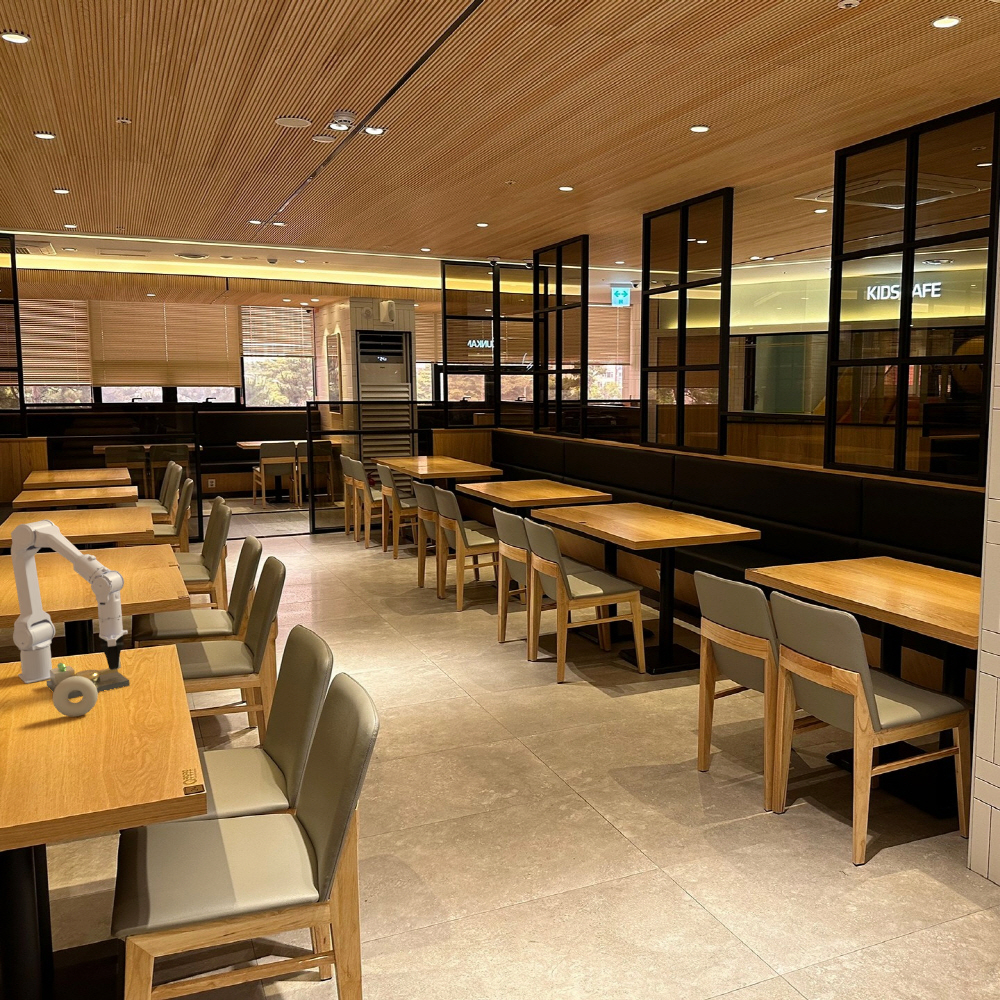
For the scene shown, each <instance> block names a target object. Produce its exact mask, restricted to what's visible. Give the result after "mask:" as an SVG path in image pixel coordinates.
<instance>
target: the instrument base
mask: <svg viewBox="0 0 1000 1000" xmlns="http://www.w3.org/2000/svg"><path fill="white" fill-rule="evenodd" d="M75 671H76V670H75V669H74V668H73V667H72V666H71V665H66V664H65V663H63V662H59V663H58V664H57V667H55V668H52V669H50V679H48V680H46V687H47V686H48V687H47V688H48V689H49V688H50V689H51V690H52V691H53V692H54V690H55V688H56V687H57V685H58V684H59V683H60V682H61V681H63V680H65V679H66V678H69V677H73V676H75V674H76V672H75ZM93 683H94V685H95V686H96V688H97V692H98V693H100V692H99V691H103V692H105V691H104V690H107V691H111V690H110V689H112V690H115V689H114V688H116V689H119V688H118V687H121V688H125V686H126V687H130V679H129V678H127V677H126V676H124V675H123V674H121V672H119V671H118V672H115V673H109V674H104V675H100V680H98V681H96V682H93ZM123 686H124V687H123ZM50 689H49V690H50ZM51 690H50V691H51ZM52 691H51V692H52ZM53 692H52V693H53ZM79 696H80V697H83V694H82V692H81V691H79V690H73V691H71V692H70V693H69V694H68V699H74V698H78V697H79Z"/></svg>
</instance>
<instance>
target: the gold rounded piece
mask: <svg viewBox="0 0 1000 1000" xmlns="http://www.w3.org/2000/svg"><path fill="white" fill-rule="evenodd" d="M121 665H122V664H121V656H120V657H119V666H118V668H115V669H110V668H109V667H108V668H104V669H86V670H81V671H78V672H75V676H82V677H85V678H88V679H89V680H90V681H92V682H96V681H98V680H100V675H104V674H109V673H115V672H119V671H118V670H119V669H121V667H122V666H121Z"/></svg>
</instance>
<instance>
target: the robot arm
mask: <svg viewBox="0 0 1000 1000" xmlns="http://www.w3.org/2000/svg"><path fill="white" fill-rule="evenodd" d="M10 535H11V541H12V542H11V543H12V544H11V547H10V555H11V561H12V562H11V563H12V567H13V574H14V580H15V581H14V582H15V588H16V592H17V593H16V594H17V600H18V601H17V602H18V606H19V613H20V614H19V616H18V617H17V619H16V620H15V621H14V624H13V627H14V631H13V634H12V639H13V643H14V645H15V646H16V647H17V648H18V650H20V665H21V666H20V668H21V673H18V674H17V676H18V677H19V678H20V680H21V681H22V682H23V683H24V684H31V683H35V682H41V681H45V680H46V681H47V680H51V679H50V669H53V664H52V651H51V644H52V640H53V638H54V637H55V635H56V627H55V625H54V624H53V622H52V620H51V619H52V618H51V615H50V614H49V613H48V612H46V611H44V610H43V609H44V608H43V604H42V603H43V602H42V596H41V590H40V585H39V577H38V570H37V565H36V559H35V558H36V557H35V555H36V554H37V552H39V550H41V549H42V548H50V549H52V550H53V551H55V552H56V553H58V554H59V555H60V556H62V557H63V558H65V559H66V560H67V561H69V562H70V563H71V564H72V565H73V566H72V567H73V571H74V572H76V573H77V574H78V575H79V576H80V577H82V579H84V580H85V581H86V582H88V583H89V584H90V589H91V591H92V593H93V594H94V595H95V601H96V602H97V610H98V612H97V615H98V626H99V628H98V629H99V634H98V637H99V638H100V641H101V642H102V643H100V649H101V650H102V652H104V653H103V654H104V656H105V658H106V661H107V665H108V668H110V669H115V668H118V666H119V657H120V658H121V651H122V649H123V647H124V641H123V638H124V635H128V633H129V632H128V629H123V628H124V627H123V614H122V613H123V612H122V601H121V600H122V599H121V590H122V589H123V588H124V585H125V580H124V577H123V575H122V574H121V573H120V571H118V570H111V569H110V568H108V567H107V566H105V565H103V564H102V563H101V562H100V561H99V560H97V556H95V555H93V554H92V555H91V554H89V553H87V554H86V553H85V554H83V553H82V552H81V551H80V549H78V548H77V547H76V546H75V545H74V544H73V543H71V541H70V540H68V539H67V538H66V536H64V535H63V534H62V533H61V531H60V527H59V526H57V525H55V523H54V522H53V521H52V520H50V519H41V520H39V521H33V522H30V523H20V524H18V525H17V526H16V527H15V528H14V529H13V530H12V531H11V532H10Z"/></svg>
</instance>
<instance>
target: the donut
mask: <svg viewBox="0 0 1000 1000" xmlns="http://www.w3.org/2000/svg"><path fill="white" fill-rule="evenodd" d="M73 690H79V691H81V692H82V694H83V696H82V699H80V700H79V701H77V702H72V701H70V700H69V699H68V694H69V693H70V692H71V691H73ZM98 695H99V692H97V688H96V686H95V685H94V683H93V682H92V681H90V680H89V679H88V678H85V677H82V676H73V677H69V678H66V679H65V680H63V681H61V682H60V683H59V684H58V685H57V687H56V688H55V690H54V692H52V703H53V707H54V708H55V709H56V711H58V712H59V713H60V714H61V715H63V716H66V717H69V718H70V717H73V718H74V717H75V718H77V717H80V716H85V715H86V714H88V713H89V712H90V711H92V709H93V708H94V707H95V705H96V704H97V701H98Z"/></svg>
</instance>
